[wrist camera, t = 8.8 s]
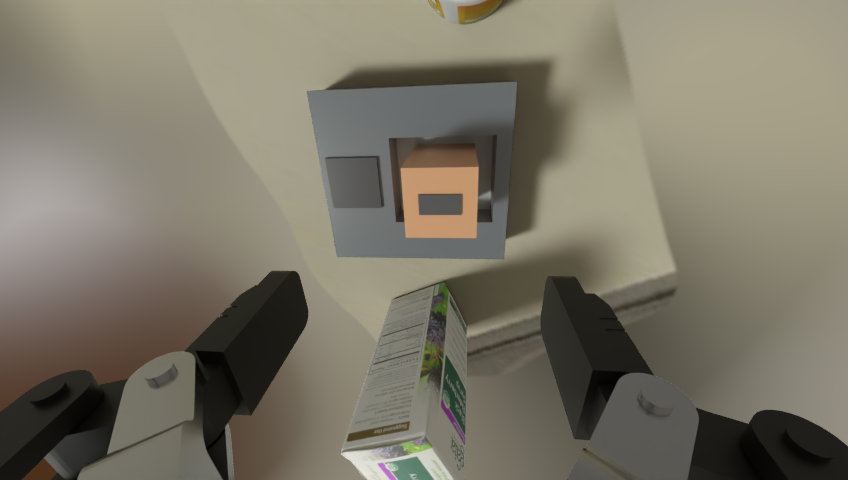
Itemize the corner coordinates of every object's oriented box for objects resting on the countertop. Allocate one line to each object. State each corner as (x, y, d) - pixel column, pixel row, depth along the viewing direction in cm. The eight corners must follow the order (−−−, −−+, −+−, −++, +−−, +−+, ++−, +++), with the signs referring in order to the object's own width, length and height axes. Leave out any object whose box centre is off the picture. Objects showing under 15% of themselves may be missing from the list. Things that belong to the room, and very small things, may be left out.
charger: (416, 144, 24) (400, 168, 18) (474, 143, 24) (478, 167, 17) (419, 198, 26) (405, 238, 20) (473, 198, 25) (476, 238, 19)
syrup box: (468, 326, 32) (473, 499, 19) (414, 341, 33) (384, 510, 20) (444, 279, 29) (430, 438, 17) (388, 299, 31) (335, 457, 18)
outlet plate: (324, 89, 23) (305, 91, 21) (510, 81, 22) (517, 81, 19) (348, 240, 29) (336, 258, 26) (499, 241, 27) (504, 260, 24)
